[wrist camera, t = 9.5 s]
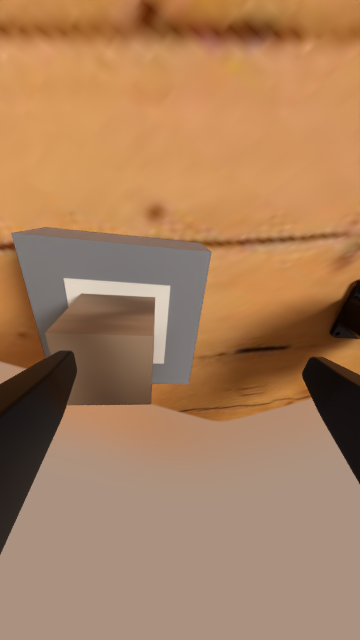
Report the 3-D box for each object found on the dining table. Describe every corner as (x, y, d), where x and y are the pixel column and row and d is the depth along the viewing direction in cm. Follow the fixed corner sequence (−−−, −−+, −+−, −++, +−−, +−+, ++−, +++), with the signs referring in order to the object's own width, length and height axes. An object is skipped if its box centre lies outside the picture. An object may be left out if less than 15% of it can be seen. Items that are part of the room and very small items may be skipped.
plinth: (200, 242, 17) (211, 252, 13) (184, 356, 22) (188, 384, 19) (45, 227, 15) (10, 233, 12) (70, 353, 21) (51, 383, 17)
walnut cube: (155, 297, 14) (153, 336, 10) (153, 353, 17) (150, 404, 12) (81, 293, 14) (44, 333, 9) (90, 351, 16) (64, 405, 12)
